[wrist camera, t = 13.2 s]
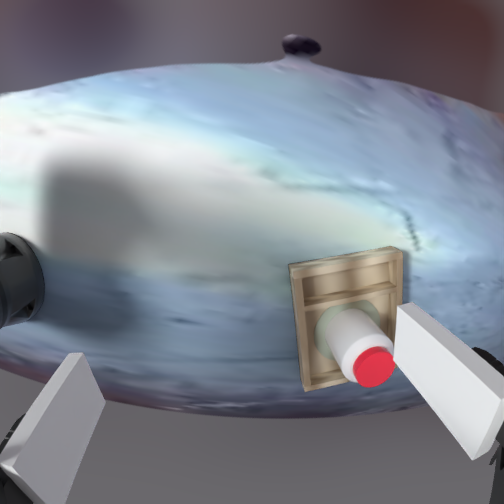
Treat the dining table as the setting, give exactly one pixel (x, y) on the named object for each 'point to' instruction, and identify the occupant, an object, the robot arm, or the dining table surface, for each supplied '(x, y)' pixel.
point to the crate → (341, 304)
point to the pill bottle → (360, 348)
